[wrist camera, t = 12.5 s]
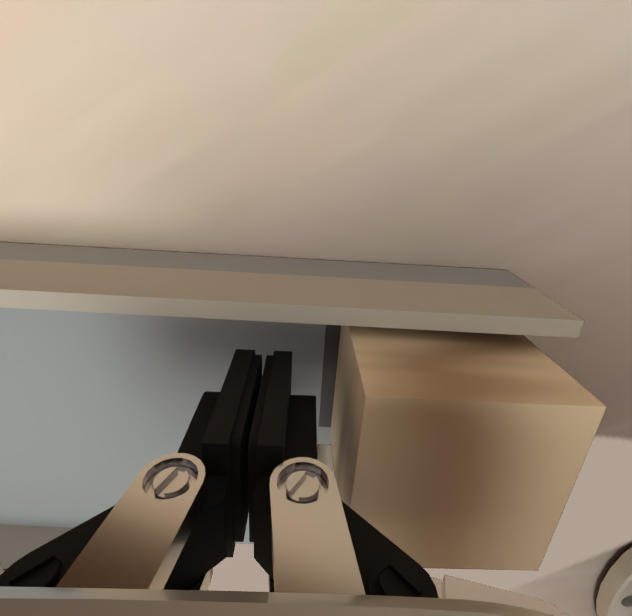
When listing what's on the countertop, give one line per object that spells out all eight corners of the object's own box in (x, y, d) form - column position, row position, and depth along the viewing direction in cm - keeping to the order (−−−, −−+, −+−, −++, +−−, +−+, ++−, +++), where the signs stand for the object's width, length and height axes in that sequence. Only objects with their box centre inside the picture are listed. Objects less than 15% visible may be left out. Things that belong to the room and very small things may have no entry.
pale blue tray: (506, 269, 14) (597, 328, 10) (445, 513, 19) (487, 632, 14) (-108, 235, 14) (-321, 279, 9) (-16, 491, 19) (-128, 606, 14)
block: (496, 312, 13) (606, 407, 8) (464, 436, 15) (538, 570, 10) (343, 304, 12) (366, 396, 8) (330, 430, 14) (342, 565, 10)
